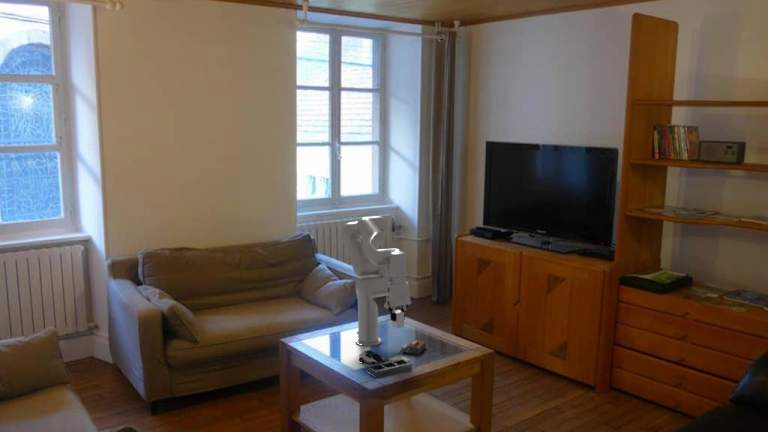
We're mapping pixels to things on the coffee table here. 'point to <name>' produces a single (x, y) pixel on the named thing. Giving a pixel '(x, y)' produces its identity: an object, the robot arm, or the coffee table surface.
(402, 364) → the grey flat frame
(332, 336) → the coffee table surface
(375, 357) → the toy car
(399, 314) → the steel block
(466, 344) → the coffee table surface
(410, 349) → the walkie-talkie
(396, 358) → the sage mat
